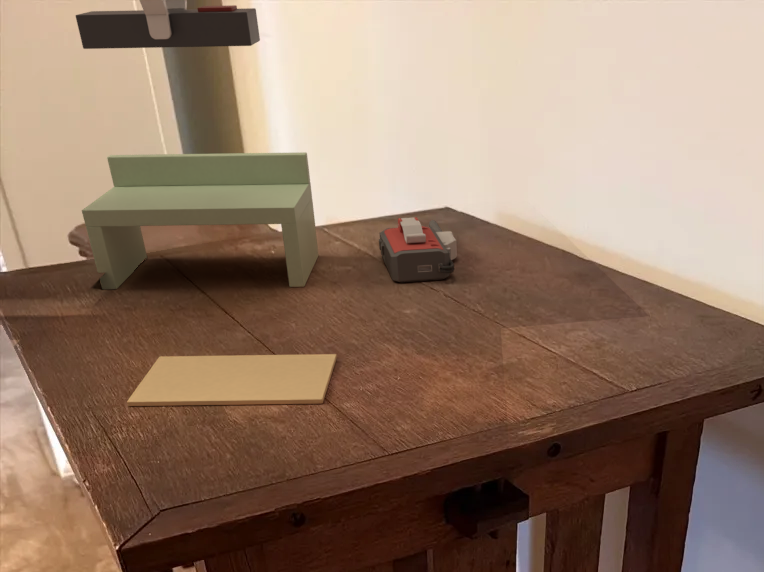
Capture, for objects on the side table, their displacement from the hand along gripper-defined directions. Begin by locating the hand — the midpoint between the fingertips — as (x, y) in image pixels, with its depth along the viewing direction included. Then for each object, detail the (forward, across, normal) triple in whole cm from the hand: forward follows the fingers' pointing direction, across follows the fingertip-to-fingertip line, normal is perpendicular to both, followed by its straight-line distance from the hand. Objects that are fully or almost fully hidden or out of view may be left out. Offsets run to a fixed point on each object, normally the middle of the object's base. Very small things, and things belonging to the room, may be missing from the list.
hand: (171, 35), depth 83 cm
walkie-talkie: (+23, -13, +21) cm, 34 cm away
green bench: (+23, -9, -2) cm, 25 cm away
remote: (+1, 0, 0) cm, 1 cm away
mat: (+23, +23, +6) cm, 33 cm away
